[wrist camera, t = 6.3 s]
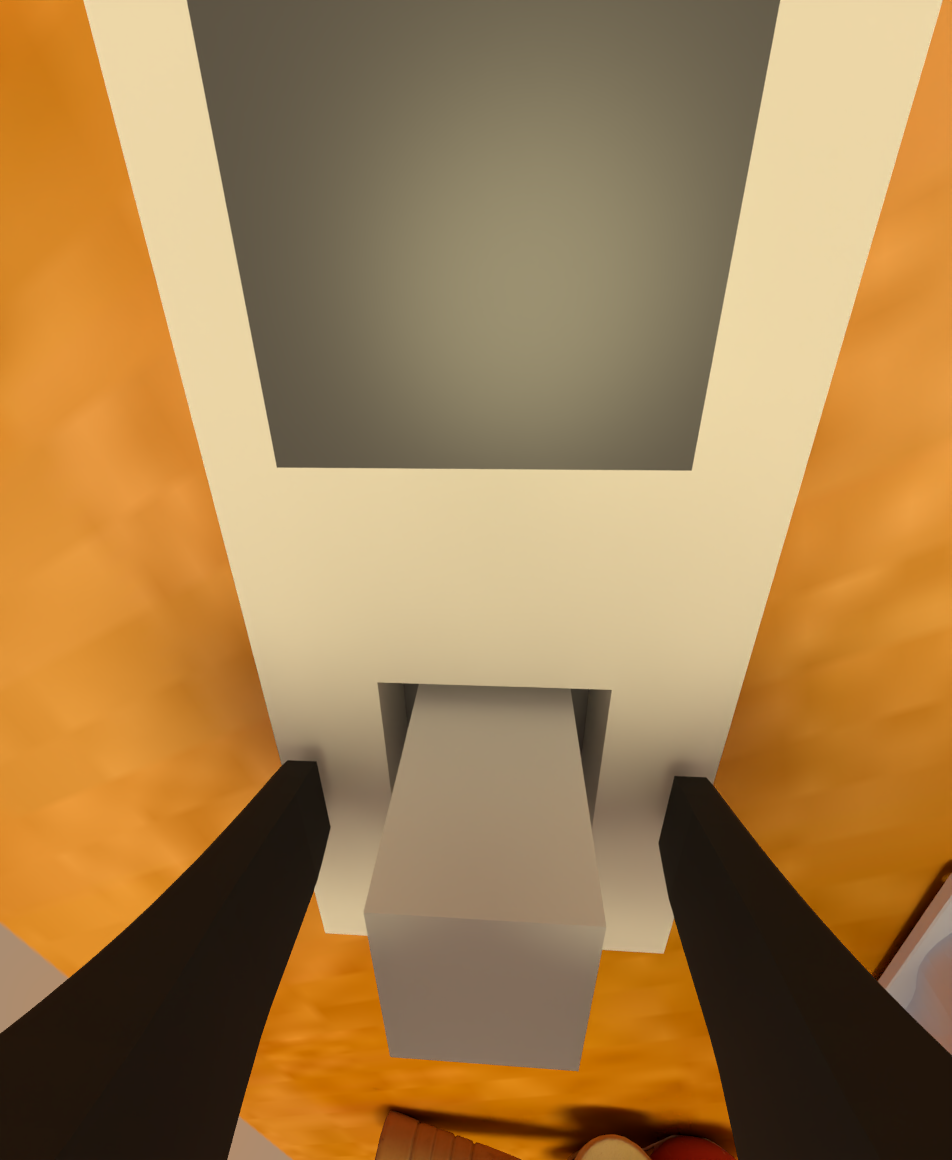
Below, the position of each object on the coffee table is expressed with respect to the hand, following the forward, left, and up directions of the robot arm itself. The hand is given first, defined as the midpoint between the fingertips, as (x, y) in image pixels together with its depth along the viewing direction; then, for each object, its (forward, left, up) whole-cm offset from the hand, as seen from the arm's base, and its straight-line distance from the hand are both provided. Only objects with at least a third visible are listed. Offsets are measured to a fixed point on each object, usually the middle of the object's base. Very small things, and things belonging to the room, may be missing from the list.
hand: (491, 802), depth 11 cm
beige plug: (0, 0, -2) cm, 2 cm away
